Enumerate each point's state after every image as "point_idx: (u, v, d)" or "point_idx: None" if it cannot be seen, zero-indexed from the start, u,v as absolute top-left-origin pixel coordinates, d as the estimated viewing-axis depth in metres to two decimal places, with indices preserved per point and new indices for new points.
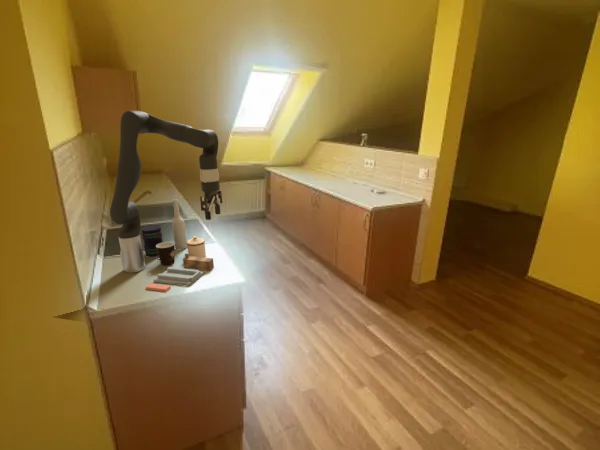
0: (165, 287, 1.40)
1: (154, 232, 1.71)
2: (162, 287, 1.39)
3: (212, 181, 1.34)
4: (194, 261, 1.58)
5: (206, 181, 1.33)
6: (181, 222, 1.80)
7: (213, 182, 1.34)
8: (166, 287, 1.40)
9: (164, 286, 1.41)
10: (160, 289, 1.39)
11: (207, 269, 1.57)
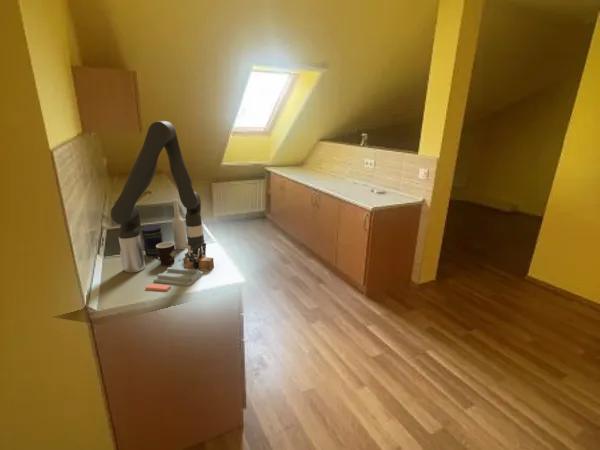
0: (165, 287, 1.40)
1: (154, 232, 1.71)
2: (162, 287, 1.39)
3: (197, 236, 1.53)
4: None
5: (191, 236, 1.52)
6: (181, 222, 1.80)
7: (198, 237, 1.53)
8: (166, 287, 1.40)
9: (164, 286, 1.41)
10: (160, 289, 1.39)
11: (207, 268, 1.57)
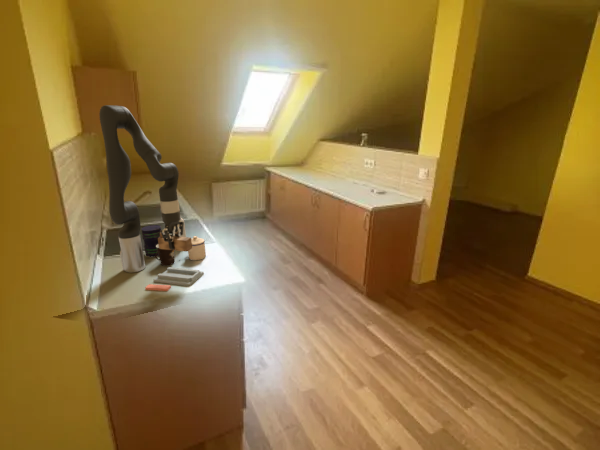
0: (166, 287, 1.40)
1: (154, 232, 1.71)
2: (162, 287, 1.40)
3: (172, 212, 1.38)
4: None
5: (166, 212, 1.37)
6: None
7: (173, 214, 1.38)
8: (167, 287, 1.40)
9: (164, 286, 1.41)
10: (161, 289, 1.39)
11: (184, 249, 1.43)
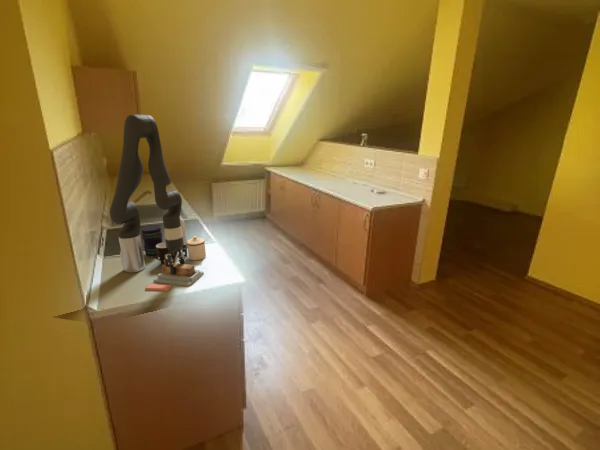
0: (166, 286, 1.40)
1: (154, 232, 1.71)
2: (162, 287, 1.40)
3: (175, 239, 1.41)
4: None
5: (169, 239, 1.41)
6: (181, 222, 1.80)
7: (176, 240, 1.42)
8: (167, 286, 1.40)
9: (164, 286, 1.41)
10: (161, 289, 1.39)
11: None
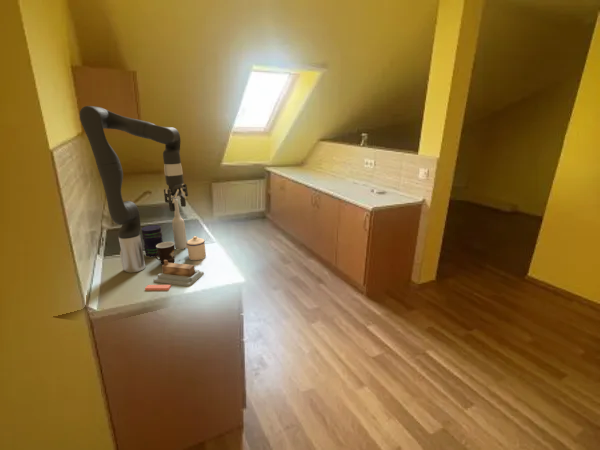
0: (166, 286, 1.40)
1: (154, 232, 1.71)
2: (163, 287, 1.40)
3: (175, 175, 1.43)
4: (173, 268, 1.47)
5: (169, 175, 1.43)
6: (181, 222, 1.80)
7: (176, 176, 1.44)
8: (167, 286, 1.41)
9: (164, 285, 1.41)
10: (161, 288, 1.39)
11: None
